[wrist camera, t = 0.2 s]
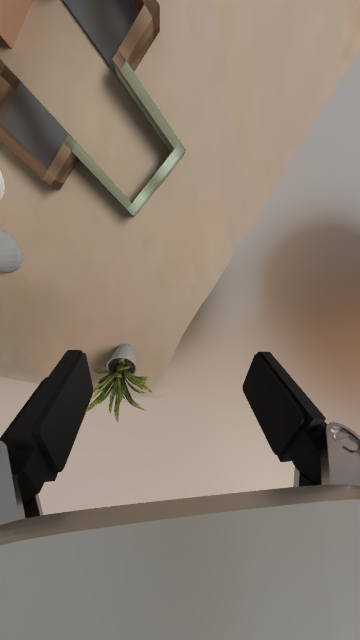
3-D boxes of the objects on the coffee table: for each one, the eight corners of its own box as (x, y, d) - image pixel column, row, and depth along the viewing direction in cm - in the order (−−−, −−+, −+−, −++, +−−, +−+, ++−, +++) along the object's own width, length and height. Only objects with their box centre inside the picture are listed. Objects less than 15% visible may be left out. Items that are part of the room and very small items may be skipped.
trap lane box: (4, -241, 15) (-29, -338, 12) (211, 121, 27) (216, 111, 25) (-82, 57, 22) (-115, 34, 19) (114, 240, 34) (111, 242, 31)
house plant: (120, 380, 52) (105, 439, 38) (84, 351, 46) (51, 409, 32) (159, 358, 50) (159, 413, 35) (127, 324, 43) (111, 374, 29)
